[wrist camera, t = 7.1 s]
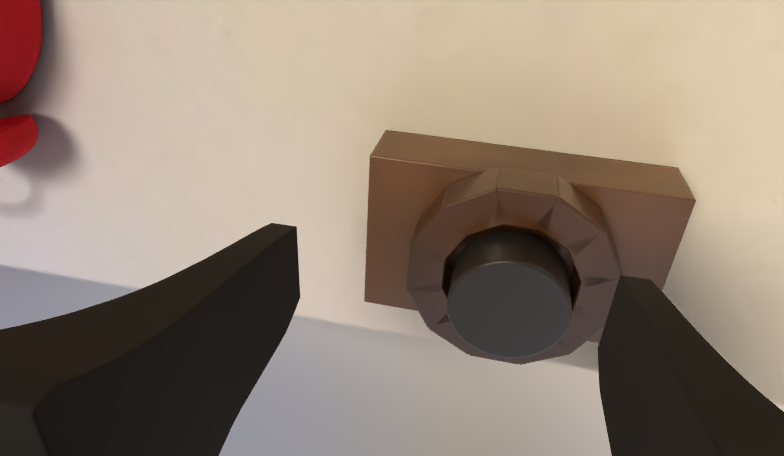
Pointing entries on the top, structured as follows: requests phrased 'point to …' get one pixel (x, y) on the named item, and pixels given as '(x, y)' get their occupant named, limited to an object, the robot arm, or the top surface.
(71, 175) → the top surface
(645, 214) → the block
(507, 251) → the button
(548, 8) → the top surface
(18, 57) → the alarm clock
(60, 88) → the top surface
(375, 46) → the top surface
